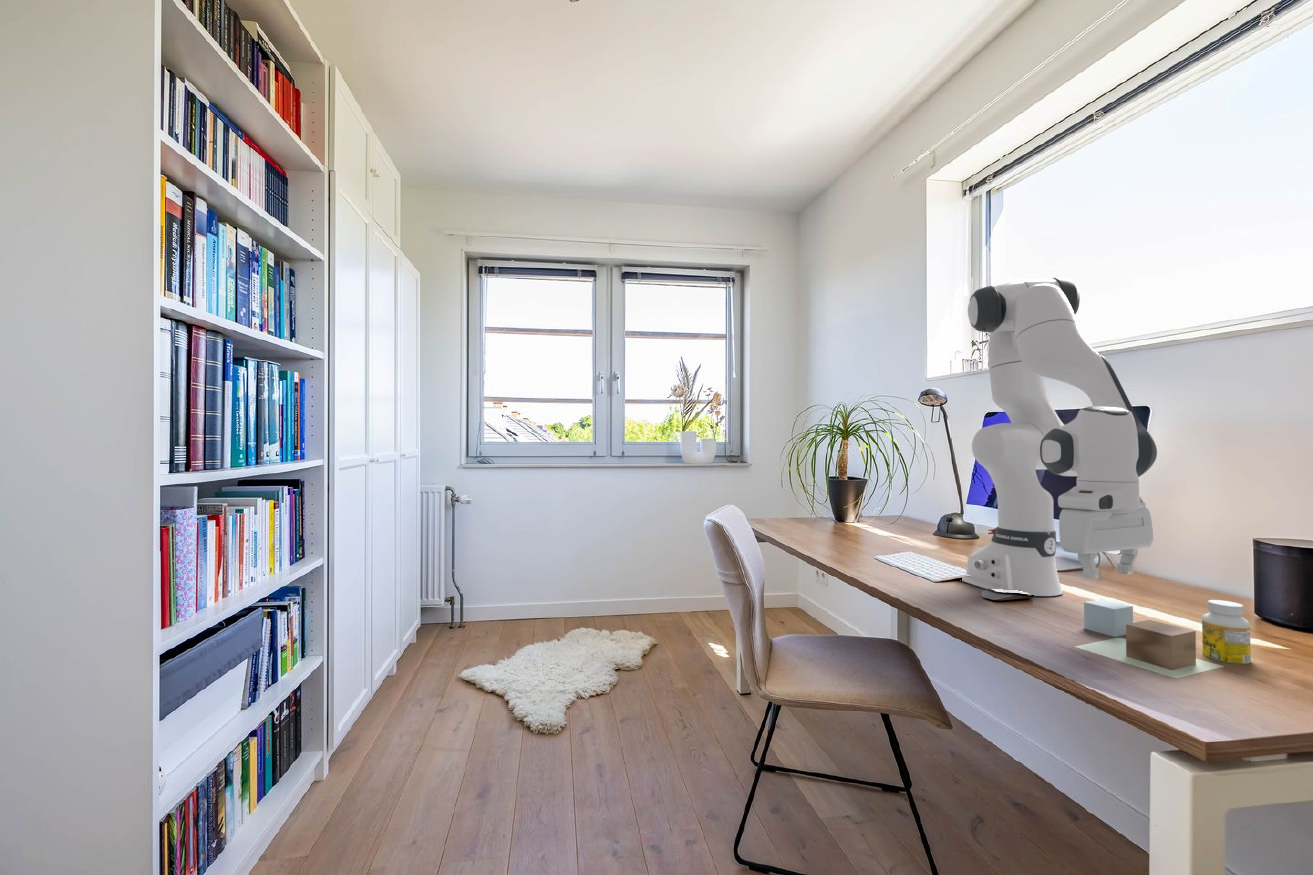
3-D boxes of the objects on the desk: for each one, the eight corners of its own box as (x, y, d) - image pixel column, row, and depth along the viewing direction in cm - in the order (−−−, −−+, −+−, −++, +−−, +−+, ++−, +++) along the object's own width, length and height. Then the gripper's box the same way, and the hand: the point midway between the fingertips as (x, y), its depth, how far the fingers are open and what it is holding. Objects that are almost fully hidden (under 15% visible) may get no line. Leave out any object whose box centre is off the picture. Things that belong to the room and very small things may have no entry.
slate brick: (1084, 635, 105) (1084, 601, 105) (1102, 632, 107) (1102, 599, 107) (1115, 644, 101) (1114, 609, 101) (1133, 640, 102) (1132, 606, 102)
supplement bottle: (1258, 673, 88) (1258, 609, 88) (1212, 668, 90) (1212, 605, 90) (1238, 661, 93) (1238, 600, 93) (1195, 656, 95) (1195, 597, 95)
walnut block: (1126, 656, 91) (1125, 624, 91) (1149, 651, 94) (1149, 619, 94) (1171, 670, 86) (1171, 635, 86) (1195, 664, 88) (1195, 630, 88)
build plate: (1073, 653, 96) (1073, 646, 96) (1120, 644, 100) (1120, 637, 100) (1176, 686, 83) (1176, 678, 83) (1224, 674, 87) (1224, 666, 87)
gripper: (1124, 494, 111) (1125, 567, 111) (1051, 497, 103) (1052, 576, 103) (1163, 496, 105) (1165, 574, 105) (1088, 500, 97) (1090, 584, 97)
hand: (1108, 575), depth 104 cm, fingers open, 8 cm apart
